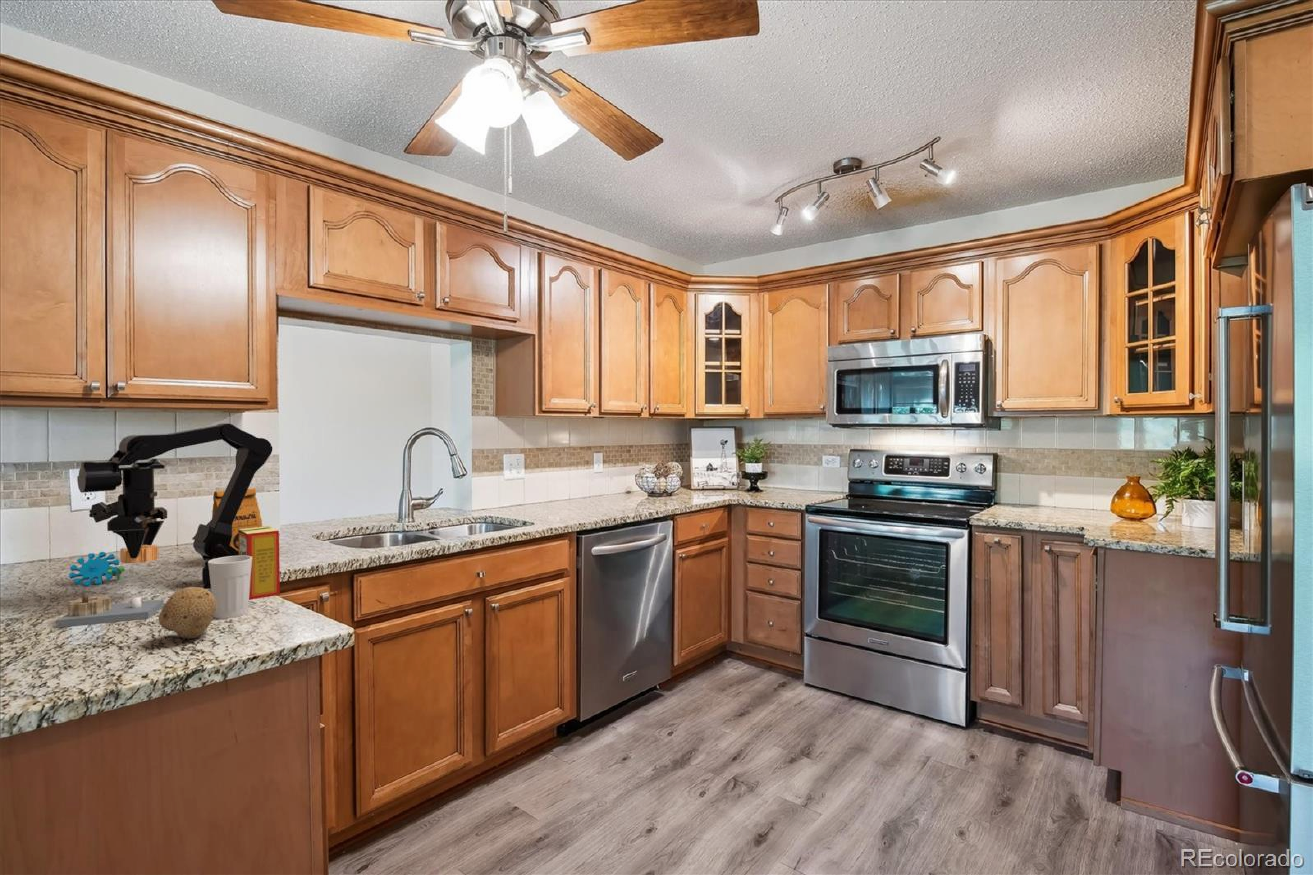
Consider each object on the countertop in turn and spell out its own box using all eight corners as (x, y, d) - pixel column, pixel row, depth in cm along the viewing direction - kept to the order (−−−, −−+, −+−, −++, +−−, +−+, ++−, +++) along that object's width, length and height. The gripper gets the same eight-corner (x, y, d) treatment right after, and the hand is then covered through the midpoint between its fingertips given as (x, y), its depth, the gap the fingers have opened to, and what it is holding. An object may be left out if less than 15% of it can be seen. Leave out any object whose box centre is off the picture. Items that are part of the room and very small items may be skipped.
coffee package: (267, 563, 187) (266, 489, 186) (217, 570, 178) (215, 492, 177) (258, 558, 194) (257, 486, 193) (209, 564, 185) (208, 489, 184)
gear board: (163, 605, 143) (163, 590, 143) (148, 618, 134) (148, 602, 134) (79, 613, 138) (79, 597, 138) (57, 627, 128) (57, 610, 128)
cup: (261, 610, 140) (260, 557, 140) (226, 621, 133) (225, 564, 132) (235, 607, 143) (234, 554, 142) (200, 617, 135) (199, 561, 135)
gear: (59, 582, 158) (79, 548, 165) (66, 594, 162) (85, 561, 168) (113, 584, 161) (130, 552, 168) (119, 596, 165) (135, 564, 172)
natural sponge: (152, 649, 116) (151, 595, 116) (167, 634, 125) (166, 584, 124) (211, 642, 120) (210, 590, 120) (222, 628, 128) (221, 579, 128)
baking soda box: (279, 594, 153) (278, 529, 153) (248, 600, 148) (247, 532, 148) (269, 587, 160) (268, 524, 159) (239, 592, 155) (238, 527, 155)
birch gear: (116, 605, 139) (116, 584, 139) (103, 614, 133) (103, 592, 132) (76, 608, 136) (76, 588, 136) (61, 618, 130) (60, 596, 130)
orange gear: (162, 556, 152) (162, 543, 152) (152, 562, 146) (152, 549, 146) (126, 558, 150) (126, 546, 150) (115, 564, 143) (115, 551, 143)
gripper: (111, 486, 153) (112, 550, 153) (76, 494, 136) (77, 566, 136) (167, 484, 157) (168, 546, 158) (140, 492, 140) (141, 562, 141)
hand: (139, 555), depth 148 cm, fingers closed on orange gear, 7 cm apart
